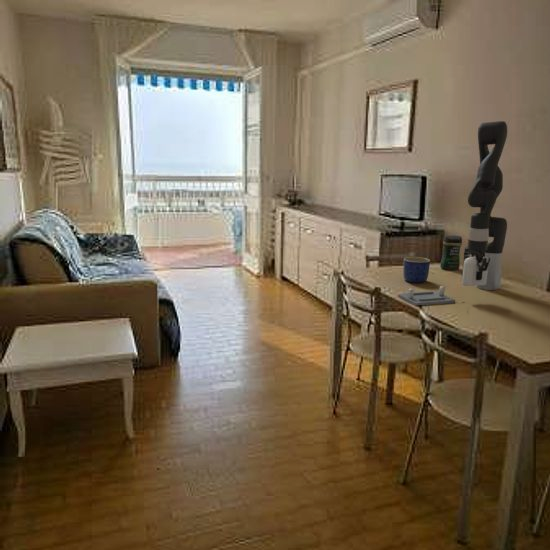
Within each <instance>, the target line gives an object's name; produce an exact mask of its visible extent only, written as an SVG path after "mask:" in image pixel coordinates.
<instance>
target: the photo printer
mask: <svg viewBox="0 0 550 550" xmlns="http://www.w3.org/2000/svg"><path fill="white" fill-rule="evenodd" d="M463 261H464V265H463V264H462V271H463V275H462V274H461V285H462V286H465V287H469V286H471V287H472V286H473V287H475V286H476V287H477V285H486V282H487V273H488V268H487V271H483V273H482V279H481V280H476V274H477V267H476V260H475V259H474V257H469V258H466V259H465V260H464V259H463ZM478 264H482V262H481V263H478ZM479 267H480V268H481V266H479ZM484 267H485V266H484Z"/></svg>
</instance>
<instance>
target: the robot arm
mask: <svg viewBox="0 0 550 550" xmlns="http://www.w3.org/2000/svg"><path fill="white" fill-rule="evenodd" d="M507 137H508V124H507V122H505V121H503V120H502V121H501V120H500V121H488V122H482V123H479V126H478V129H477V143H478V152H479V153H478V155H479V166H478V169H477V174H476V179H475V183H474V184H473V186H472V188H471V190H470V192H469V193H468V197H467V204H468V205H469V207H471V208H480V209H479V212H476V213H472V214H471V217H470V226H469V232H468V238H469V239H468V238H467V241H468V244H467V246H468V250H469V252H464V251H463V261H464V260H465V259H466V258H469V257H474V259H475V260H476V267H477V274H476V280H481V279H482V273H483V271H487V268H488V273H487V282H486V285H476V288H478V289H481V290H486V291H496V290H499V289H501V283H502V282H501V281H502V273H503V268H501V267H502V266H501V265H502V258H503V250H504V246H505V242H506V237H507V236H506V235H507V230H508V221H507V218H505V217H500V216H499V217H497V216H492V211H493V209H494V207H495V204H496V202H497V198H498V197H499V196H500V194H501V193H502V191H503V188H504V187H503V183H504V178H503V177H504V175H503V171H502V170H501V168H500V167H499V162H500V159H501V156H502V153H503V150H504V147H505V144H506V141H507ZM489 145H491V146H492V145H493V146H494V147H493V148H492V150H491V151H490V150H489ZM489 238H493V240H492V241H490V242H489ZM481 262H482V264H478V263H481ZM479 266H481V268H480V267H479ZM484 266H485V267H484Z"/></svg>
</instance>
